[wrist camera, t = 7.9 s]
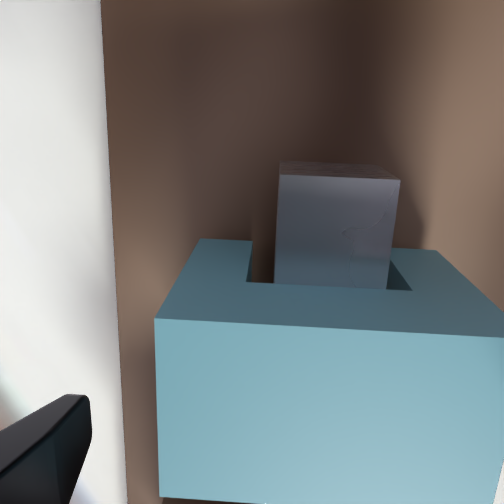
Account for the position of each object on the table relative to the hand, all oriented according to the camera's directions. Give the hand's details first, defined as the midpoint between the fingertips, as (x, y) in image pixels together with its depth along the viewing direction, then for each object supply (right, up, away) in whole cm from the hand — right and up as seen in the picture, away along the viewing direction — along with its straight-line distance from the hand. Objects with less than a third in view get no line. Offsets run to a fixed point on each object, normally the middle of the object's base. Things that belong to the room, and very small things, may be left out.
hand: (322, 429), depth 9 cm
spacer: (0, +2, +5) cm, 5 cm away
